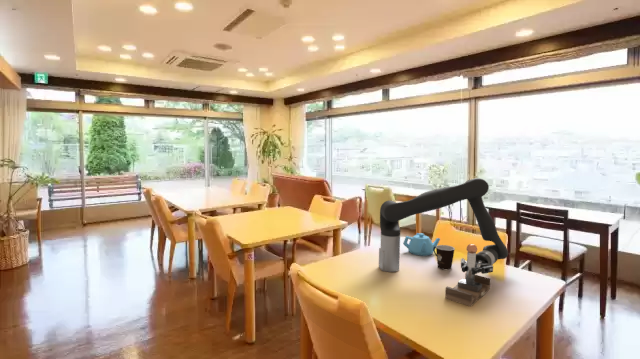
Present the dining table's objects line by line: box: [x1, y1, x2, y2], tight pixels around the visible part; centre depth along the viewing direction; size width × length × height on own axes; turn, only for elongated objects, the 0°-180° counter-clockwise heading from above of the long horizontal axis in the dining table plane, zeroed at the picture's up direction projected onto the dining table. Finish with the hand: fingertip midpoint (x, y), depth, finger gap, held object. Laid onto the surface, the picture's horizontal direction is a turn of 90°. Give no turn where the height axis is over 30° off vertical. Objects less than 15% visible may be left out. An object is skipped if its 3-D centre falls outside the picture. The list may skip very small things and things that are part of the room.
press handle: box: [457, 243, 482, 292], centre depth 145 cm, size 5×8×18 cm, turn 47°
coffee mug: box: [433, 244, 456, 271], centre depth 176 cm, size 12×9×10 cm
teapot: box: [402, 232, 441, 257], centre depth 198 cm, size 15×15×11 cm
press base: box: [444, 273, 492, 307], centre depth 145 cm, size 22×10×4 cm, turn 137°
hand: (468, 271), depth 143 cm, fingers closed on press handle, 3 cm apart
